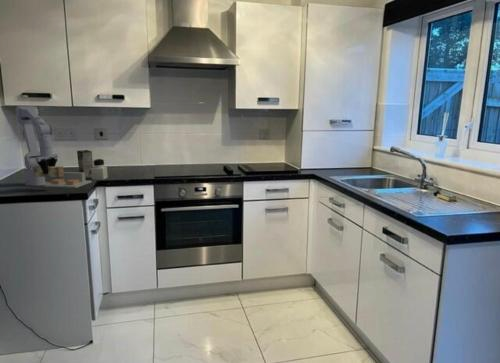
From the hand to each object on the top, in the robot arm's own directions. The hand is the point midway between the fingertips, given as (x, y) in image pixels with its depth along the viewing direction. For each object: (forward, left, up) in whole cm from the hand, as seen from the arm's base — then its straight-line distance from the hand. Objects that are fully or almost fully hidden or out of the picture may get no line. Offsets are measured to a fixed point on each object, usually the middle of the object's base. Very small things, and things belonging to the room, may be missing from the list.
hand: (48, 173), depth 195 cm
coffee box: (-4, +39, -9) cm, 40 cm away
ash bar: (0, 0, -2) cm, 2 cm away
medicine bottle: (+10, +31, -9) cm, 34 cm away
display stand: (+1, +13, -9) cm, 16 cm away
